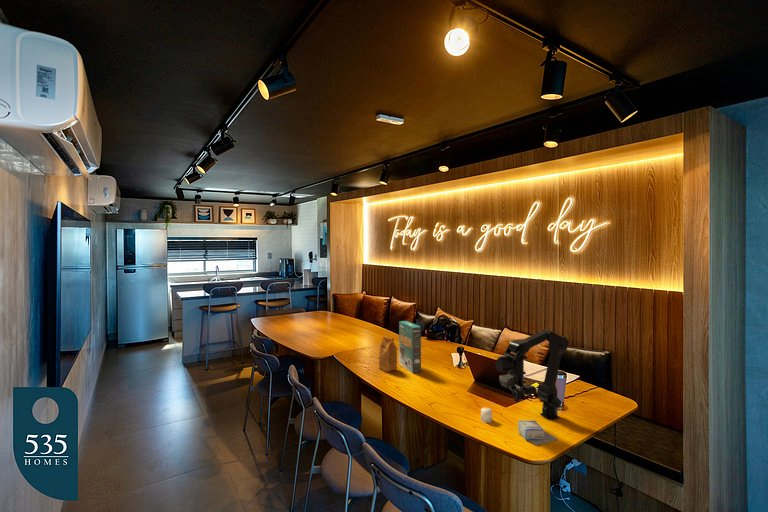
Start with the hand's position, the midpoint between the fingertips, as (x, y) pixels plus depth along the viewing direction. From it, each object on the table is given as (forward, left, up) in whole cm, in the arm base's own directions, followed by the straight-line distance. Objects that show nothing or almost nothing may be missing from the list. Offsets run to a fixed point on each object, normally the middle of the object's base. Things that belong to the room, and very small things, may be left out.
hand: (516, 402), depth 169 cm
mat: (0, +13, -10) cm, 16 cm away
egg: (+11, -8, -10) cm, 17 cm away
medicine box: (0, +7, -8) cm, 10 cm away
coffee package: (+27, -94, -10) cm, 98 cm away
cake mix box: (+12, -91, -10) cm, 92 cm away
